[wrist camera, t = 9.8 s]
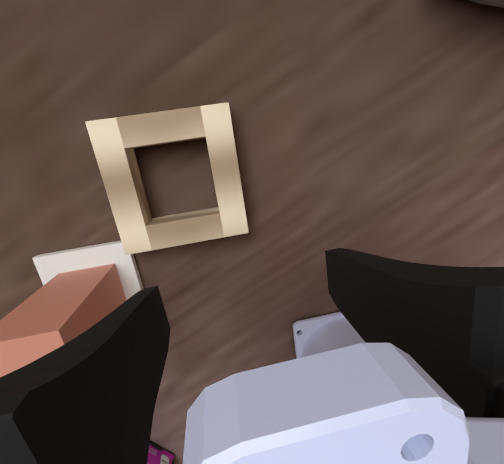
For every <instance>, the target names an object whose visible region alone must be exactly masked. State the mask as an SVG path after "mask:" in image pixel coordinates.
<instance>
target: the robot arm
mask: <svg viewBox="0 0 504 464" xmlns="http://www.w3.org/2000/svg"><path fill="white" fill-rule="evenodd" d="M325 253H326V265H327V276H328V288H329V294H330V295H331V297H332V299H333V301H334V302H335V304H336V306H337V307H338V309H339V310H340V312H337V313H332V314H328V315H323V316H318V317H314V318H309V319H304V320H300V321H296V322H295V323H294V324H293V336H294V344H295V353H296V359H294V360H290V361H286V362H281V363H277V364H273V365H269V366H265V367H261V368H257V369H253V370H248V371H244V372H240V373H236V374H233V375H231V376H229V377H227V378H225V379H223V380H221V381H218V382H216V383H214V384H212V385H210V386H208V387H206V388H205V389H204V390H203V391H202V393H201V394H200V395H199V396H198V398H197V399H196V400H195V402H194V403H193V404H192V405H191V407H190V408H189V409H188V411H187V422H186V433H185V444H184V455H183V464H504V267H451V266H436V265H427V264H418V263H411V262H405V261H399V260H394V259H389V258H384V257H380V256H375V255H371V254H367V253H363V252H358V251H354V250H349V249H344V248H337V249H332V250H327V251H325ZM299 330H301V331H300V332H299V333H297V331H299ZM169 336H170V326H169V323H168V319H167V316H166V312H165V309H164V306H163V302H162V299H161V296H160V292H159V289H158V286H155V287H150V288H146V289H142V290H140V291H138V292H137V293H136V294H134V295H133V296H131V297H130V298H129V299H128V300H126V301H125V302H124V303H122V304H121V305H120V306H119V307H117V308H116V309H115V310H114V311H112V312H111V313H110V314H108V315H107V316H106V317H104V318H103V319H101V320H100V321H99V322H97V323H96V324H95V325H93V326H92V327H90V328H89V329H88V330H86V331H85V332H83V333H82V334H80V335H79V336H77V337H76V338H74V339H72V340H71V341H69V342H67V343H66V344H64V345H62V346H61V347H59V348H57V349H56V350H54V351H52V352H50V353H48V354H46V355H44V356H42V357H41V358H39V359H37V360H35V361H33V362H31V363H29V364H27V365H26V366H23V367H21V368H19V369H17V370H15V371H13V372H11V373H9V374H7V375H5V376H2V377H0V464H147V459H148V450H149V442H150V434H151V427H152V419H153V413H154V408H155V403H156V398H157V394H158V390H159V386H160V382H161V378H162V374H163V370H164V366H165V361H166V357H167V353H168V347H169Z"/></svg>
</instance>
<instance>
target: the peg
mask: <svg viewBox="0 0 504 464" xmlns="http://www.w3.org/2000/svg"><path fill="white" fill-rule="evenodd" d="M125 301H126V297H125V294H124V290H123V287H122V284H121V281H120V278H119V275H118V271H117V268H116V265H115V264H109V265H103V266H98V267H92V268H87V269H81V270H76V271H70V272H64V273H59V274H57V275H56V276H55V277H53V278H52V279H51V280H50V281H48V282H47V283H46V284H45V285H44V286H42V287H41V288H40V289H39V290H37V291H36V292H35V293H34V294H32V295H31V296H30V297H29V298H27V299H26V300H25V301H24V302H23V303H21V304H20V305H19V306H18V307H16V308H15V309H14V310H13V311H11V312H10V313H9V314H8V315H6V316H5V317H4V318H3V319H2V320H0V377H2V376H5V375H7V374H9V373H11V372H13V371H15V370H17V369H19V368H21V367H23V366H26V365H27V364H29V363H31V362H33V361H35V360H37V359H39V358H41V357H42V356H44V355H46V354H48V353H50V352H52V351H54V350H56V349H57V348H59V347H61V346H62V345H64V344H66V343H67V342H69V341H71V340H72V339H74V338H76V337H77V336H79V335H80V334H82V333H83V332H85V331H86V330H88V329H89V328H90V327H92V326H93V325H95V324H96V323H97V322H99V321H100V320H101V319H103V318H104V317H106V316H107V315H108V314H110V313H111V312H112V311H114V310H115V309H116V308H117V307H119V306H120V305H121V304H122V303H124V302H125Z"/></svg>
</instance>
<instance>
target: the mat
mask: <svg viewBox="0 0 504 464" xmlns="http://www.w3.org/2000/svg"><path fill="white" fill-rule="evenodd" d="M32 259H33V261H34V264H35V266H36V269H37V271H38V273H39V276H40V278H41V281H42V283H43V285H45V284H46V283H47V282H48V281H50V280H51V279H52V278H53V277H55V276H56V275H57V274H59V273H64V272H70V271H76V270H81V269H87V268H92V267H98V266H103V265H109V264H115V265H116V268H117V271H118V275H119V278H120V281H121V284H122V287H123V290H124V294H125V297H126V300H128V299H129V298H130V297H131V296H133V295H134V294H136V293H137V292H138V291H140V290H142V289H144V288H143V285H142V282H141V278H140V275H139V271H138V268H137V265H136V261H135V258H134V254H129V255H125V251H124V248H123V245H122V241H121V240H120V241H115V242H109V243H103V244H98V245H92V246H86V247H81V248H75V249H69V250H64V251H58V252H52V253H47V254H41V255H37V256H35V257H33V258H32Z"/></svg>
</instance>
